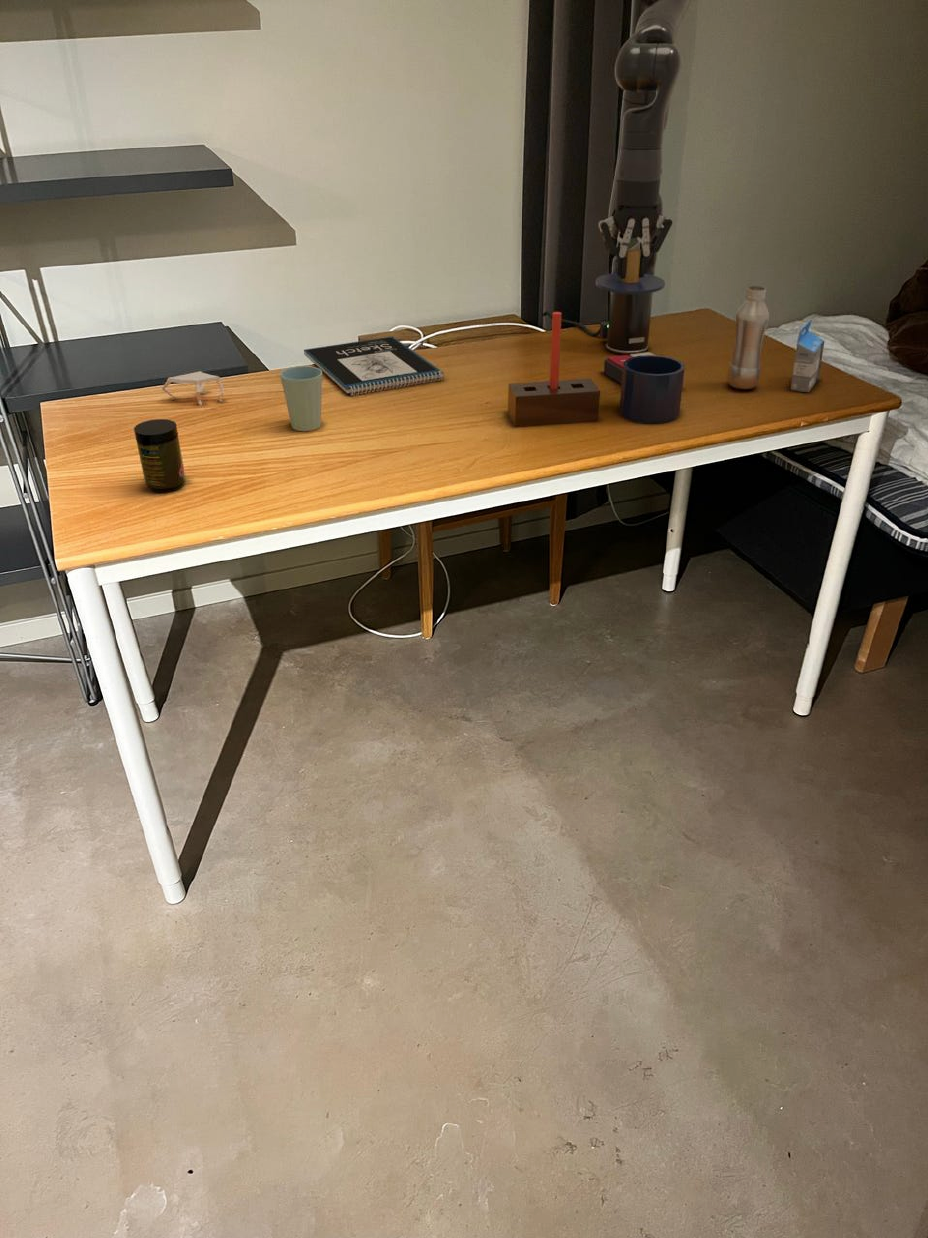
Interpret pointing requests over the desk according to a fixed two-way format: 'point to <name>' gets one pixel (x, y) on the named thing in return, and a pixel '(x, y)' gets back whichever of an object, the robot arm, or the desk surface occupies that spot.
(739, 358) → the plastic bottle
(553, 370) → the straw
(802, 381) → the label tape box
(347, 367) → the sketchbook
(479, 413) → the desk surface
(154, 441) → the supplement container
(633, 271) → the tin lid
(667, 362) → the tin
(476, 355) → the desk surface
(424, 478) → the desk surface
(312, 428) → the cup
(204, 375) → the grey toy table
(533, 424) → the straw holder
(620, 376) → the calculator
